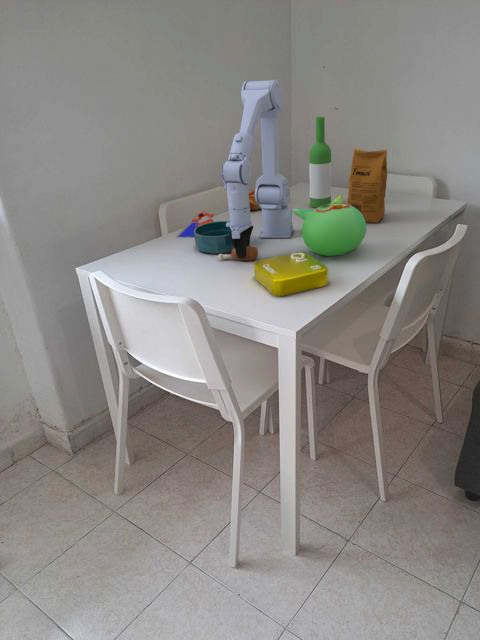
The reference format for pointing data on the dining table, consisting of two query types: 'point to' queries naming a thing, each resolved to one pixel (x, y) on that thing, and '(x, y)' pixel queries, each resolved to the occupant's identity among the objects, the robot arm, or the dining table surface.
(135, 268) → the dining table surface
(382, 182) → the coffee package
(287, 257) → the element tile
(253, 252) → the drumstick
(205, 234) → the teal mixing bowl
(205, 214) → the fish
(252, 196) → the croissant
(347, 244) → the green teapot
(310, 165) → the wine bottle
